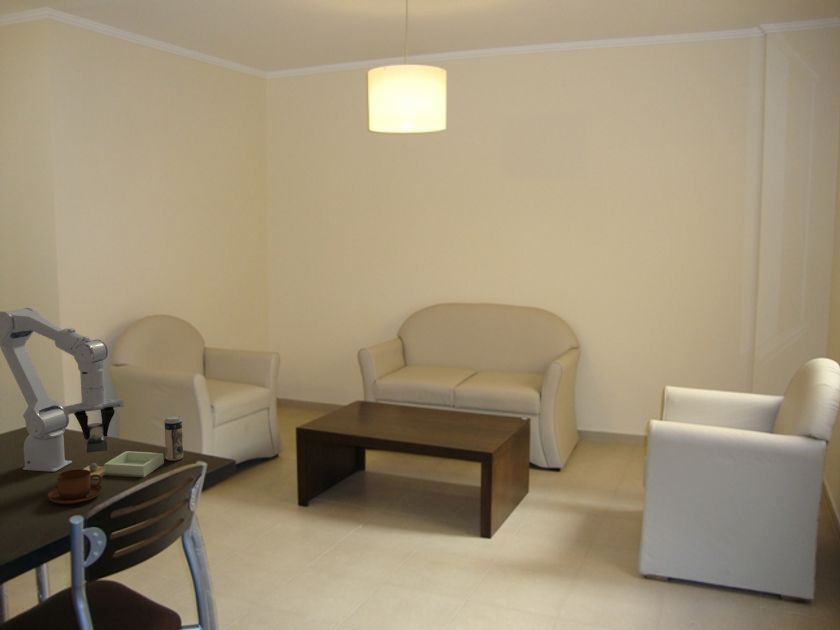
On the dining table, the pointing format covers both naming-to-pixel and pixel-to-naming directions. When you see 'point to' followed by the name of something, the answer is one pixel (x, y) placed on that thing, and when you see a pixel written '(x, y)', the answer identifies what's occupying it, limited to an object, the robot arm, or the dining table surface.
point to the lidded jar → (173, 438)
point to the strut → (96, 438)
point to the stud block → (95, 470)
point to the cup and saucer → (75, 487)
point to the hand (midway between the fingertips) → (95, 437)
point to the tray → (134, 464)
